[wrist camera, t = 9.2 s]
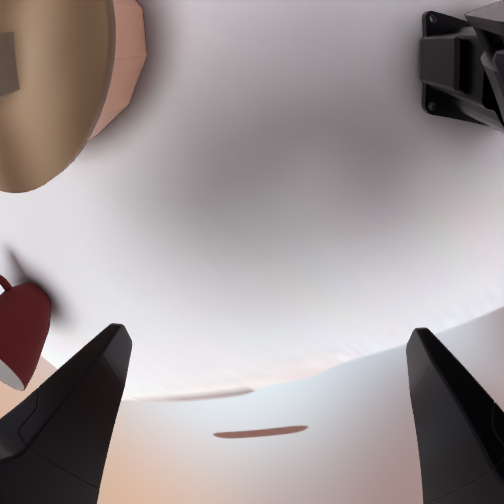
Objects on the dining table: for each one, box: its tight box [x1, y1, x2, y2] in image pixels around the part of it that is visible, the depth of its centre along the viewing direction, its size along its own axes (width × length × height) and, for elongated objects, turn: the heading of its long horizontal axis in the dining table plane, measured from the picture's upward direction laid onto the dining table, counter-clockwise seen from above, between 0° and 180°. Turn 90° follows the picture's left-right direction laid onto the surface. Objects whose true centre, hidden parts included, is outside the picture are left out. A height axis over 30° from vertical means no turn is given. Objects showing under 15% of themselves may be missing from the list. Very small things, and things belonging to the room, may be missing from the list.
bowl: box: [88, 0, 147, 140], centre depth 12 cm, size 12×12×6 cm
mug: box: [0, 275, 51, 391], centre depth 23 cm, size 10×8×10 cm
